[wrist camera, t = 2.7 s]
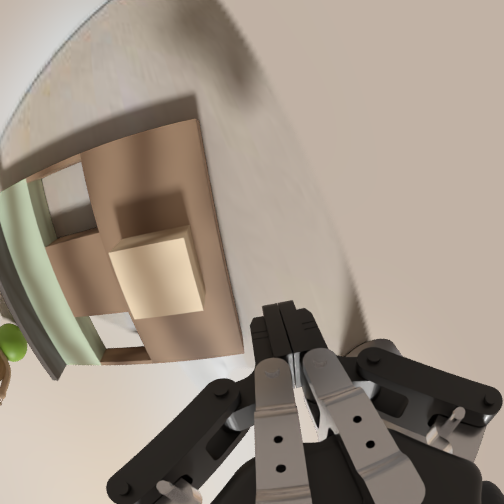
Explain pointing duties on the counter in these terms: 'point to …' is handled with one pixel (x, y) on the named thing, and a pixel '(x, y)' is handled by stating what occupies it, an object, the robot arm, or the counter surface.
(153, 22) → the counter surface
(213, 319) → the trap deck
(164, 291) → the block
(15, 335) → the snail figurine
